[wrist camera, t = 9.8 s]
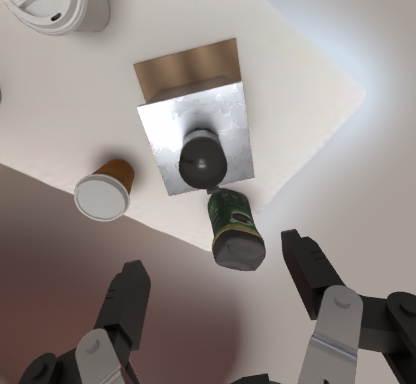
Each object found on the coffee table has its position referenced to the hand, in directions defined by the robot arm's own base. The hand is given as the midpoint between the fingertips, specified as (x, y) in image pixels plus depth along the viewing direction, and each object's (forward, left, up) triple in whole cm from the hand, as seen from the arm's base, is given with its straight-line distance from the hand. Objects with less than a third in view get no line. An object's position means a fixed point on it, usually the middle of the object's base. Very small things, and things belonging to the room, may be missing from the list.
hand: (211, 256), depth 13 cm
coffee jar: (+2, -22, -38) cm, 44 cm away
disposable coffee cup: (-20, -8, -38) cm, 43 cm away
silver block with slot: (0, -1, -36) cm, 37 cm away
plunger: (0, 0, -32) cm, 32 cm away
